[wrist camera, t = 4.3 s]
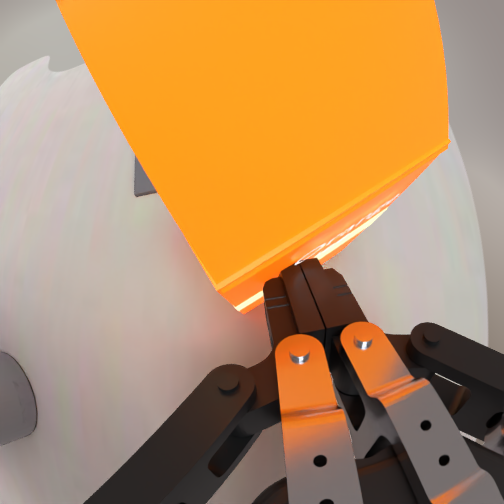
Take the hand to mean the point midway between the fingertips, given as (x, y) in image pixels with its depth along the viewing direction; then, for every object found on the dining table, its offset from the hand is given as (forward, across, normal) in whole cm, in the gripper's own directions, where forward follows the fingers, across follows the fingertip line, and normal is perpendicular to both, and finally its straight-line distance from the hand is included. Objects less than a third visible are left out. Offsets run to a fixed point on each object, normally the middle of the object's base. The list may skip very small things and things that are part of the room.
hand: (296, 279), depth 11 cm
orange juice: (+10, 0, +4) cm, 11 cm away
